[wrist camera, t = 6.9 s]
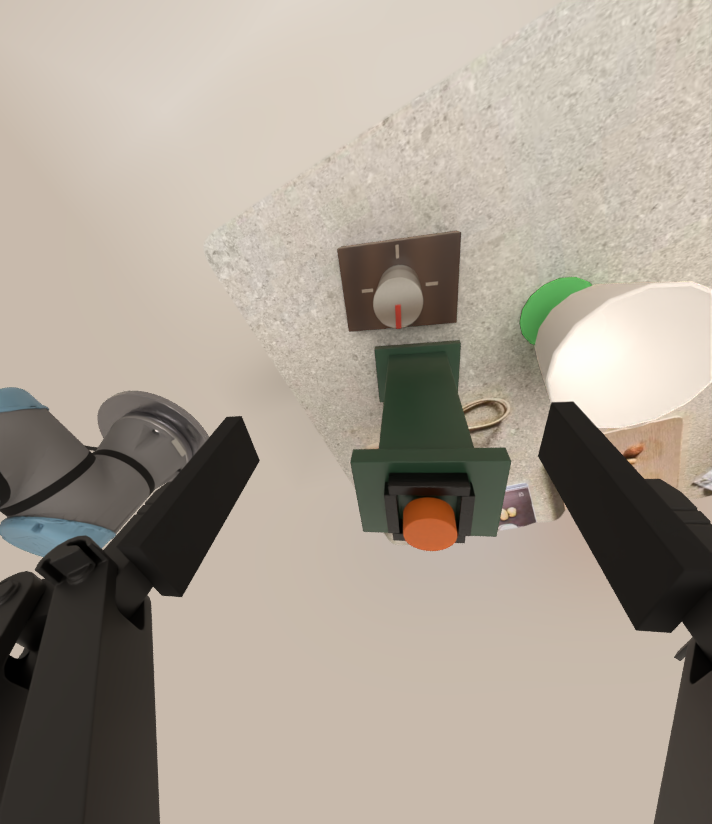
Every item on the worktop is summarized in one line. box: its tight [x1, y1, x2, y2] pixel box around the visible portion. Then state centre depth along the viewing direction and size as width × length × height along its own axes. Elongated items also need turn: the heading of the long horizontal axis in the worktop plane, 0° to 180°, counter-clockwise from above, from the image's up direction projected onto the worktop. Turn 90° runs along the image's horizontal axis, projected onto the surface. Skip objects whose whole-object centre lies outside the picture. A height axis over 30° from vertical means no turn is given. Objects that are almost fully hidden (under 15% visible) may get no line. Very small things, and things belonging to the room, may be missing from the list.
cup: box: [520, 277, 712, 428], centre depth 33 cm, size 14×14×16 cm
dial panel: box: [337, 231, 461, 332], centre depth 38 cm, size 14×10×3 cm
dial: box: [373, 265, 423, 329], centre depth 34 cm, size 5×5×8 cm
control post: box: [351, 340, 511, 543], centre depth 35 cm, size 12×9×26 cm
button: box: [403, 497, 457, 551], centre depth 24 cm, size 4×4×2 cm
